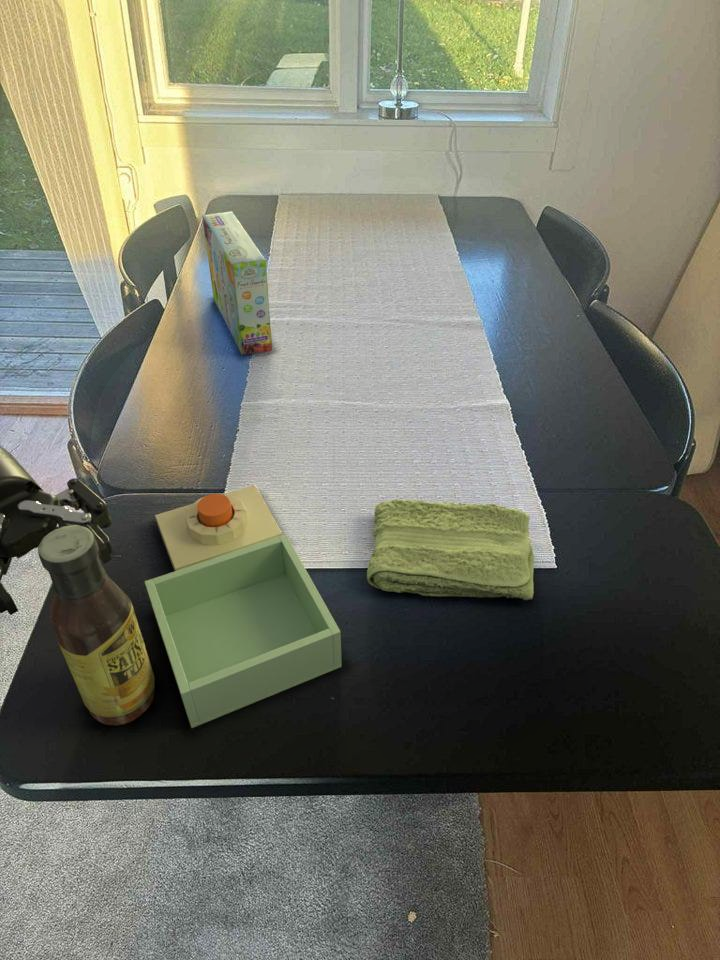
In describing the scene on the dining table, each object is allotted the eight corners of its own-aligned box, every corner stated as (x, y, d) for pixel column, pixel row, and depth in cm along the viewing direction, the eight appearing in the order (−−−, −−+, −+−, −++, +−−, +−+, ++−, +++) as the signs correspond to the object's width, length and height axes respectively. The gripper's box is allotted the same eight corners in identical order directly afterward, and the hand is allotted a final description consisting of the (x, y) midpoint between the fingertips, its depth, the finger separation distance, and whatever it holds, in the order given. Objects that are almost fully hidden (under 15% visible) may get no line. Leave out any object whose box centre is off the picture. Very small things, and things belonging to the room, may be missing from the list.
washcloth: (536, 608, 72) (542, 588, 70) (365, 596, 73) (365, 575, 71) (526, 519, 81) (530, 498, 79) (374, 509, 83) (375, 489, 81)
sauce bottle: (142, 734, 61) (83, 586, 48) (75, 724, 62) (-1, 575, 49) (169, 670, 66) (122, 520, 53) (107, 661, 67) (45, 511, 54)
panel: (178, 580, 75) (172, 558, 72) (158, 526, 81) (152, 504, 78) (283, 545, 78) (281, 522, 76) (256, 496, 85) (253, 474, 82)
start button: (204, 531, 76) (202, 520, 75) (195, 510, 78) (193, 499, 77) (236, 521, 77) (234, 509, 76) (226, 501, 79) (224, 489, 78)
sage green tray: (191, 728, 62) (180, 694, 58) (155, 616, 71) (144, 581, 67) (341, 666, 66) (340, 631, 63) (289, 569, 76) (286, 534, 72)
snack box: (276, 350, 110) (267, 258, 100) (241, 358, 108) (229, 265, 98) (242, 293, 125) (232, 208, 115) (211, 299, 123) (198, 213, 113)
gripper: (-106, 493, 63) (-41, 596, 54) (45, 428, 70) (125, 509, 61) (-72, 550, 68) (-7, 653, 59) (66, 484, 75) (143, 567, 66)
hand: (60, 580), depth 60 cm, fingers open, 8 cm apart
